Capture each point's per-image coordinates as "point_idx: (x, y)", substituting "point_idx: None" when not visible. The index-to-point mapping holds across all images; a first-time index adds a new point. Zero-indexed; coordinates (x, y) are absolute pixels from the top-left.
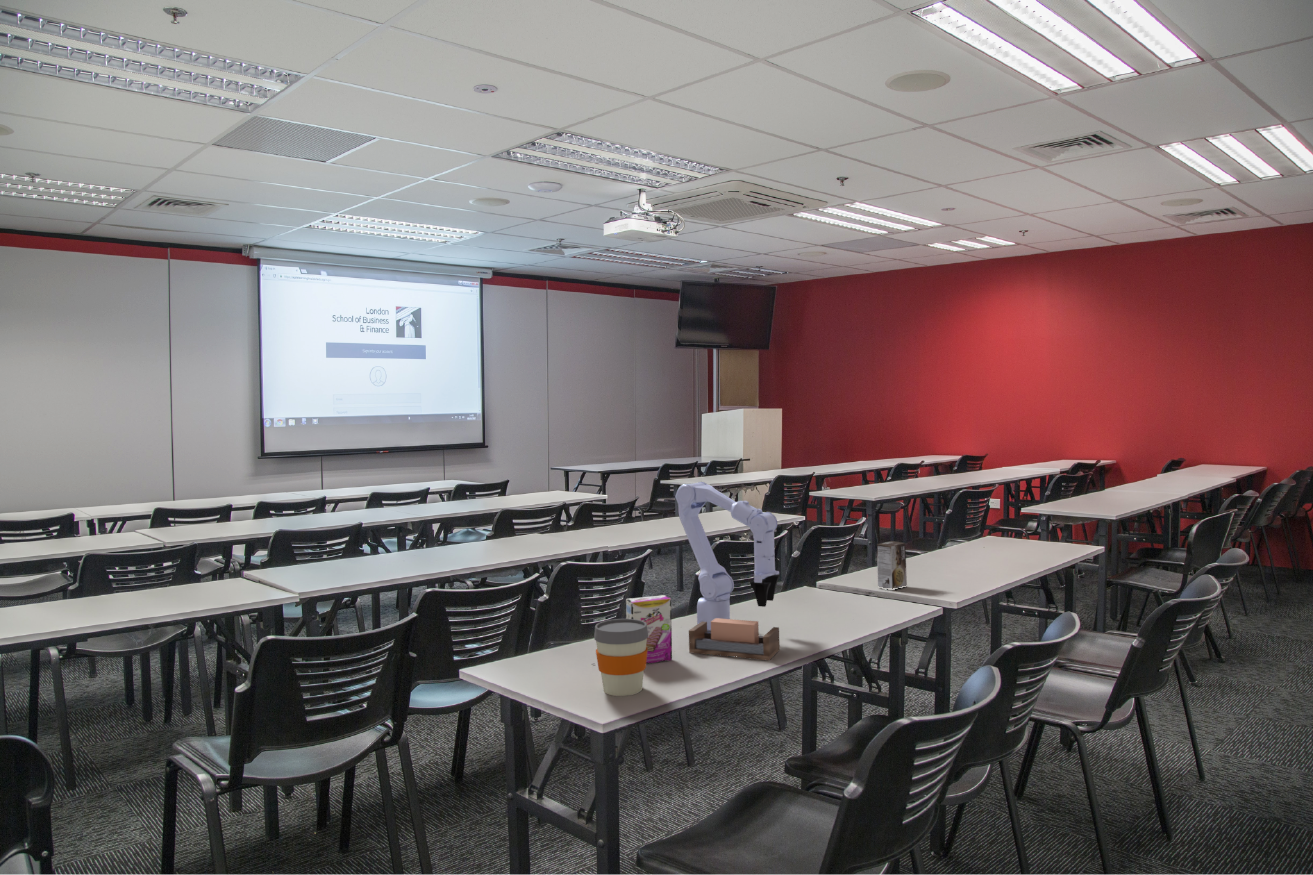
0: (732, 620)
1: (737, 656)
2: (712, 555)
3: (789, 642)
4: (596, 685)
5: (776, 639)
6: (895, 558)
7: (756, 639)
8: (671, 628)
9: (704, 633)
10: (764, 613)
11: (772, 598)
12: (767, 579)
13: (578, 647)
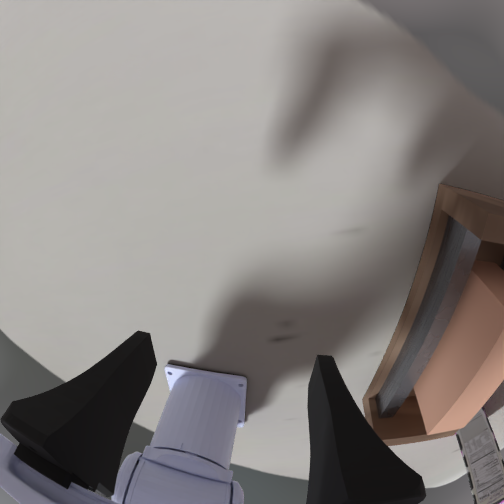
0: (471, 394)
1: None
2: None
3: (331, 153)
4: None
5: (496, 206)
6: None
7: (497, 278)
8: (497, 444)
9: (392, 415)
10: (28, 298)
11: (144, 342)
12: (98, 464)
13: None
